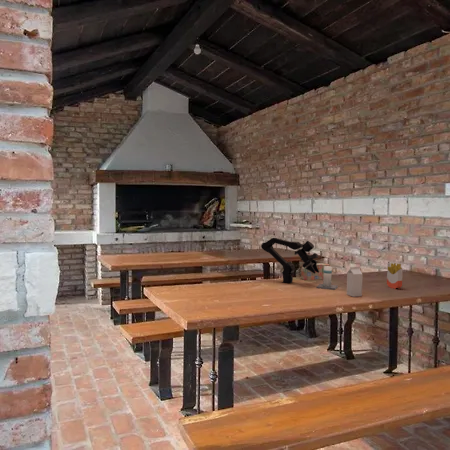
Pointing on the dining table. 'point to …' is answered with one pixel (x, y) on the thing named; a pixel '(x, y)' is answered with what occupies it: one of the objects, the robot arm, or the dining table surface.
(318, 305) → the dining table surface
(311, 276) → the stack of blocks
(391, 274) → the french fries container
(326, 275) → the banded post
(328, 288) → the slate tile
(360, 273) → the milk carton
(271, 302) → the dining table surface
